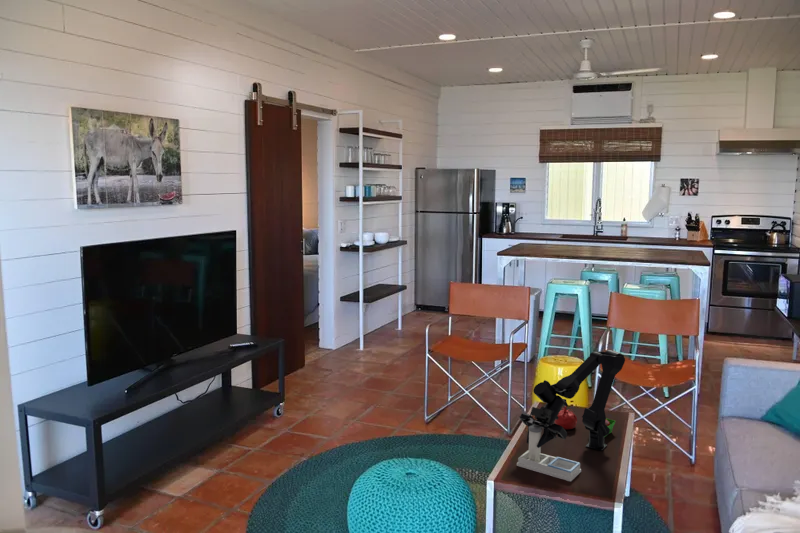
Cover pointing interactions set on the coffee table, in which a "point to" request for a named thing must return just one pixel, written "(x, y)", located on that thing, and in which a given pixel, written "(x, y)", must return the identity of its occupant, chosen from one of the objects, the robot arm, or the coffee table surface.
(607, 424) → the fruit basket
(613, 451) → the coffee table surface
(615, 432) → the coffee table surface
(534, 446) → the plug post
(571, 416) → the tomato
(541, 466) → the compartment tray
